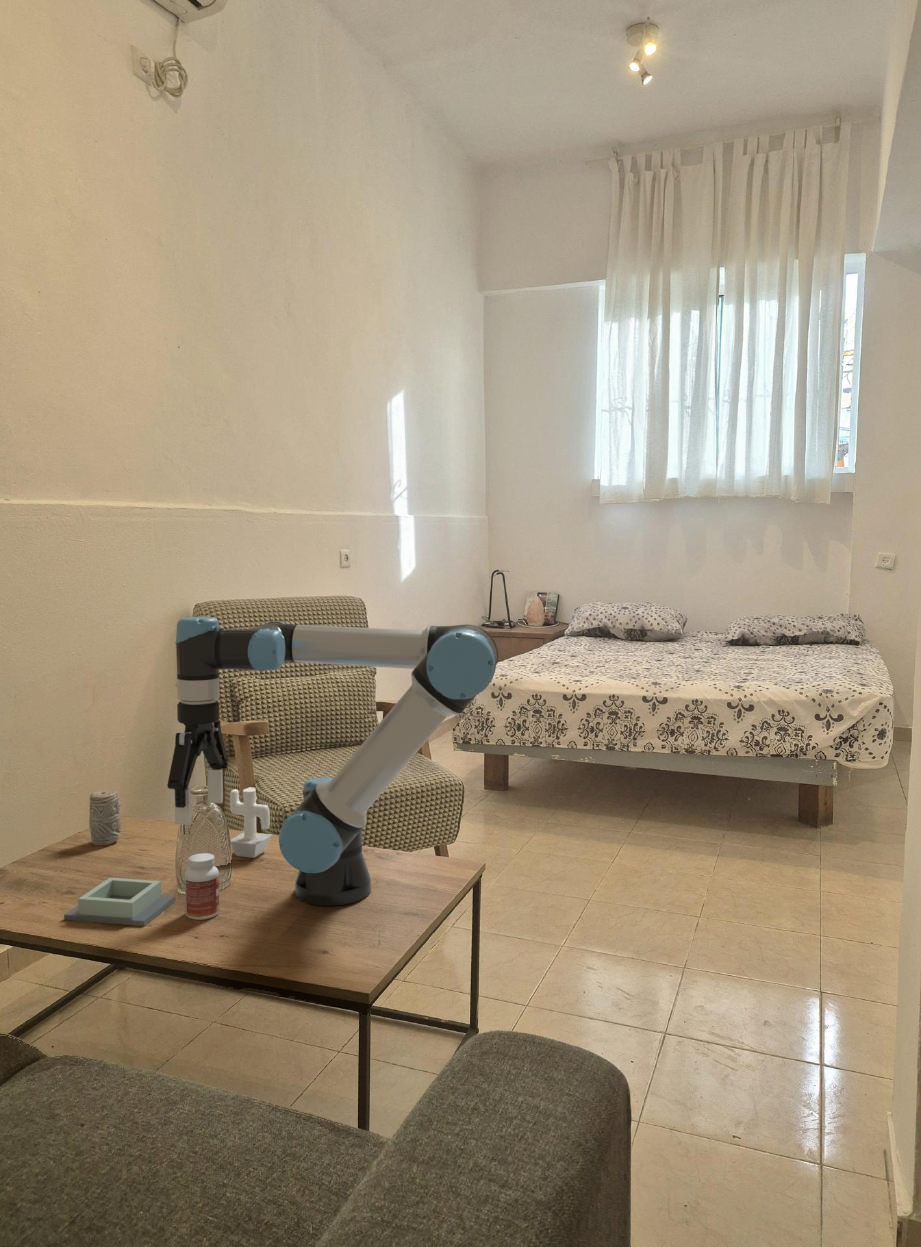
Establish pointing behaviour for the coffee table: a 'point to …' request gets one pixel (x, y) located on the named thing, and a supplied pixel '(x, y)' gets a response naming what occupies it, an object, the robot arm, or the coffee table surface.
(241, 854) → the figurine
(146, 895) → the bottle holder
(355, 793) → the robot arm
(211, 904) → the pill bottle
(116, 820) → the carving
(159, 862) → the coffee table surface
